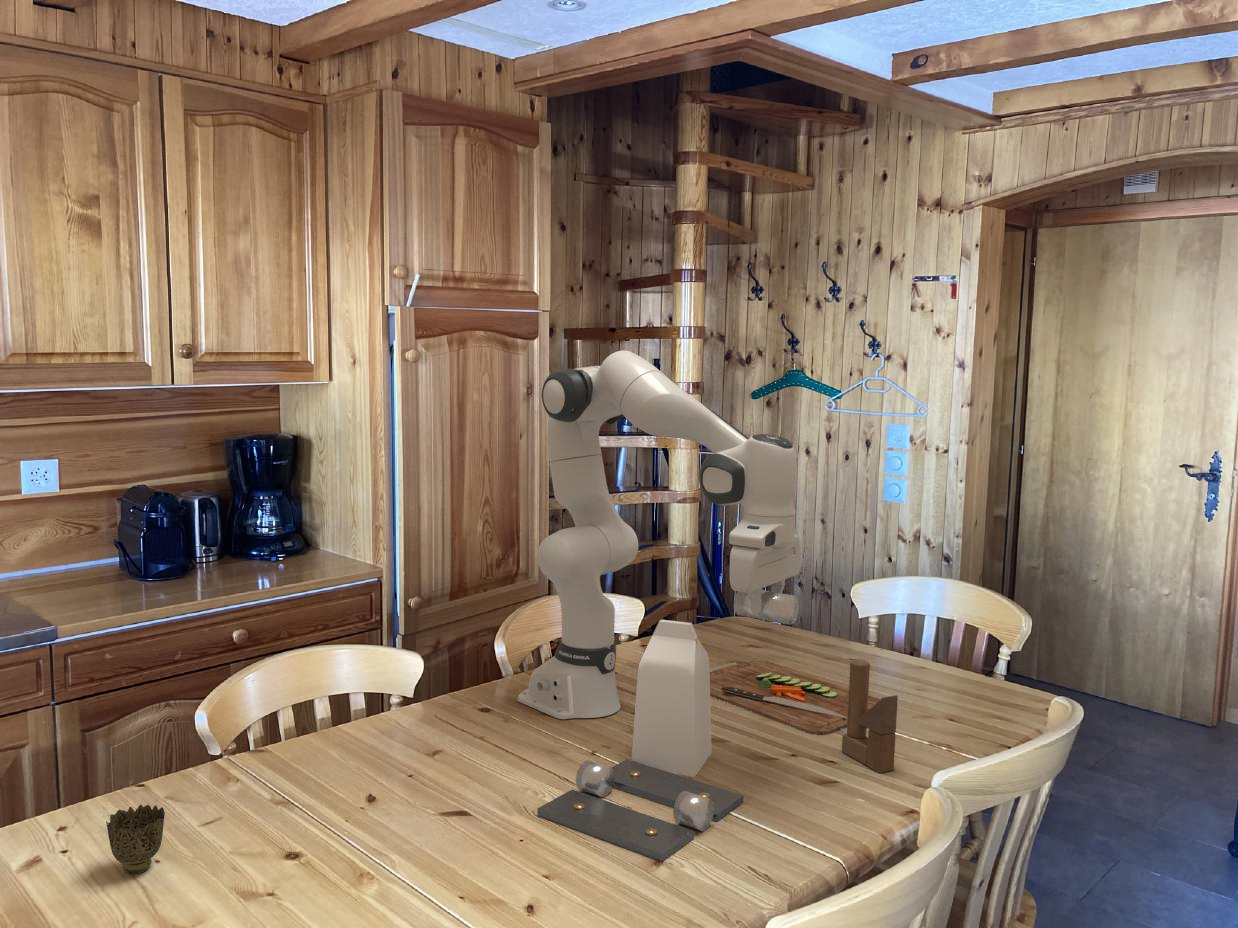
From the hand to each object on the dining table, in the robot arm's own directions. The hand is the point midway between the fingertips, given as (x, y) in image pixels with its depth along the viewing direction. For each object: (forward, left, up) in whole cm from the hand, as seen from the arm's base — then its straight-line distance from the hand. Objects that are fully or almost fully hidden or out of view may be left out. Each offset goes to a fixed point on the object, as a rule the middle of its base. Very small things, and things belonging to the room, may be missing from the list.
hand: (765, 608), depth 172 cm
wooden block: (+12, +20, -31) cm, 39 cm away
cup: (-56, -82, -31) cm, 104 cm away
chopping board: (-16, +43, -32) cm, 56 cm away
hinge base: (-10, -22, -31) cm, 39 cm away
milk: (-17, -2, -31) cm, 36 cm away
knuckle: (0, 0, -2) cm, 2 cm away
